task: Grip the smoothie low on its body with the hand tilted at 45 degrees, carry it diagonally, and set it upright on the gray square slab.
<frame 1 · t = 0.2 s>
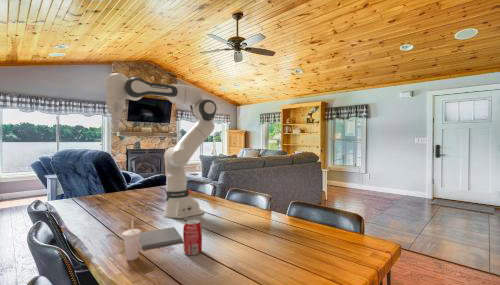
hand: (115, 131, 133), 48 cm above the table, tool pointing down, fingers open, 8 cm apart
gray square slab: (159, 238, 113), on the table
smoothie: (132, 258, 95), on the table
soda can: (192, 252, 100), on the table
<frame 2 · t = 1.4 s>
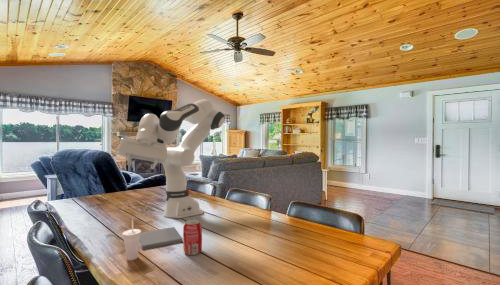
hand: (140, 166, 109), 32 cm above the table, tool tilted 40°, fingers open, 8 cm apart
nothing on the table moved.
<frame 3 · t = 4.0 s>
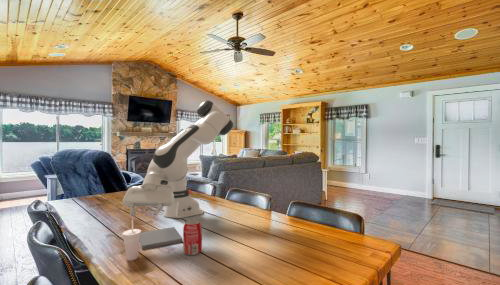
hand: (143, 214, 103), 13 cm above the table, tool tilted 45°, fingers open, 8 cm apart
nothing on the table moved.
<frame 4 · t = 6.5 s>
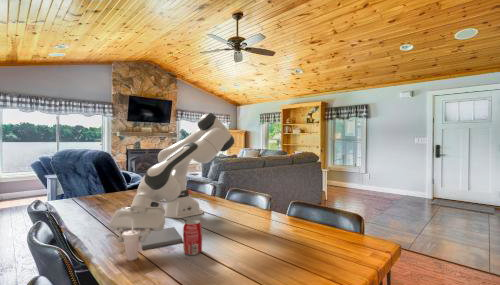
hand: (131, 241, 94), 6 cm above the table, tool tilted 45°, fingers closed on smoothie, 6 cm apart
smoothie: (132, 258, 95), on the table, touching gripper
everything else where it was.
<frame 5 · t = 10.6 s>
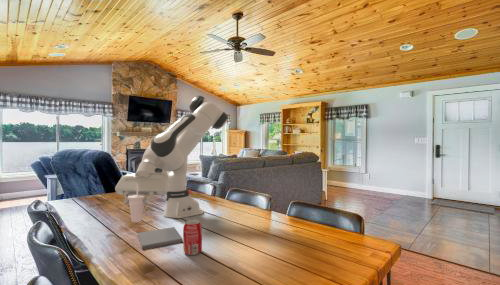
hand: (136, 203, 99), 19 cm above the table, tool tilted 45°, fingers closed on smoothie, 6 cm apart
smoothie: (136, 221, 99), point 12 cm above the table, touching gripper
everything else where it was.
when the fingers open (9 cm above the table, at t = 14.9 s): smoothie stays where it is, resting on gray square slab.
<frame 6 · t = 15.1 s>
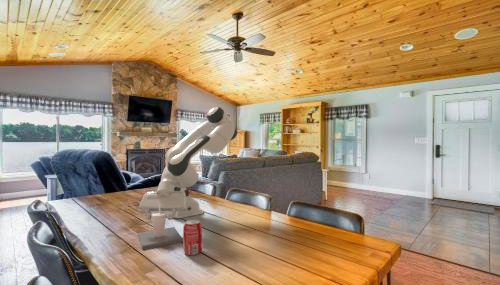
hand: (158, 219, 112), 9 cm above the table, tool tilted 45°, fingers open, 8 cm apart
smoothie: (159, 236, 113), point 1 cm above the table, touching gray square slab
everything else where it was.
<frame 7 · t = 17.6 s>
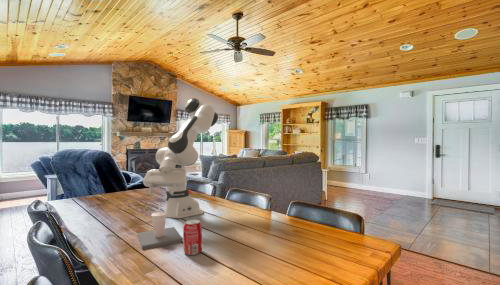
hand: (160, 193, 119), 19 cm above the table, tool tilted 45°, fingers open, 8 cm apart
nothing on the table moved.
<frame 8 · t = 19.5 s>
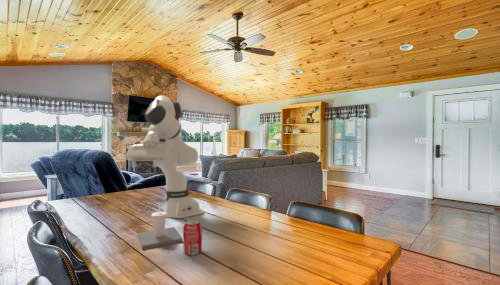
hand: (144, 166, 116), 31 cm above the table, tool tilted 45°, fingers open, 8 cm apart
nothing on the table moved.
at the end: smoothie inside the target area on the gray square slab (0.2 cm from its centre), point 1.3 cm above the gray square slab's base; smoothie tilted 0°; the gripper is holding nothing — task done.
